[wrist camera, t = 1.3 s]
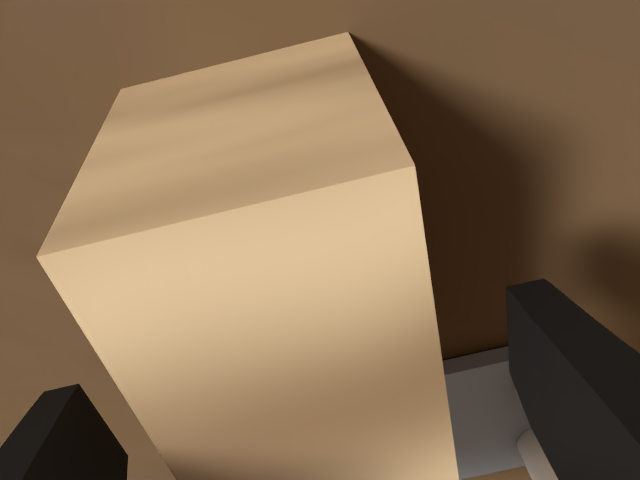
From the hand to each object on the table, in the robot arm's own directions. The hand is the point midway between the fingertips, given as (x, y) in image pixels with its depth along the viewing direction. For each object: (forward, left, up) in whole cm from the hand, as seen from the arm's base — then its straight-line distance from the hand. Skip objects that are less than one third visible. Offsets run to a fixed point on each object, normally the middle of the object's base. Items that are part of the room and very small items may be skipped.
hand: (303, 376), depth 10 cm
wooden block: (0, 0, -4) cm, 4 cm away
